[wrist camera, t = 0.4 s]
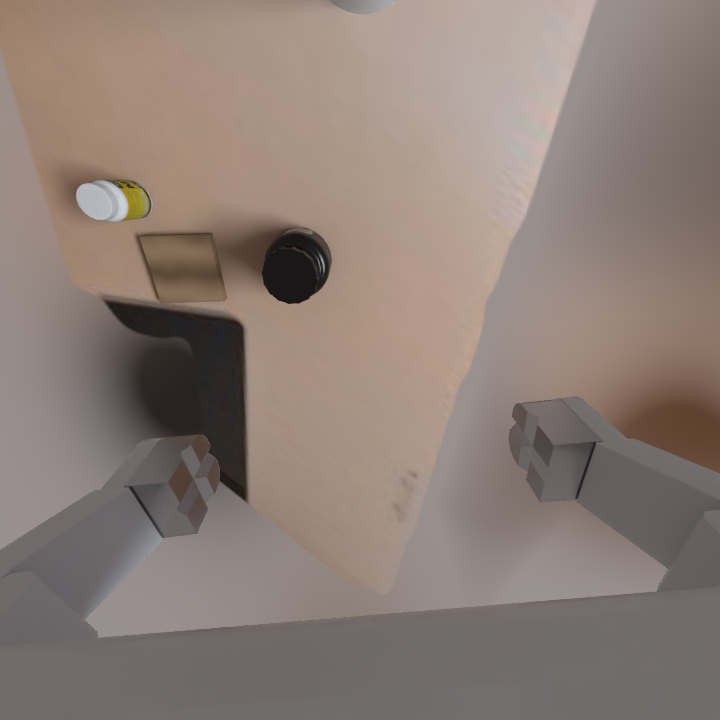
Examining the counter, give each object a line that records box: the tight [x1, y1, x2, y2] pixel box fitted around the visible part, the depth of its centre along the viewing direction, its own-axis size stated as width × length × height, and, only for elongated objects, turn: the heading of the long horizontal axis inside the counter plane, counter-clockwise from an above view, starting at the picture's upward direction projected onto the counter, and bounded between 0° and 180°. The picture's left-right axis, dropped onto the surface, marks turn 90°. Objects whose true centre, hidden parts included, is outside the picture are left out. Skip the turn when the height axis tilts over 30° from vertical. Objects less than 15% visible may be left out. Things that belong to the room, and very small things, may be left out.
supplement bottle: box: [76, 180, 153, 222], centre depth 42 cm, size 5×5×8 cm
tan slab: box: [139, 233, 227, 303], centre depth 50 cm, size 10×10×2 cm
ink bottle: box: [262, 228, 332, 304], centre depth 45 cm, size 10×9×12 cm
